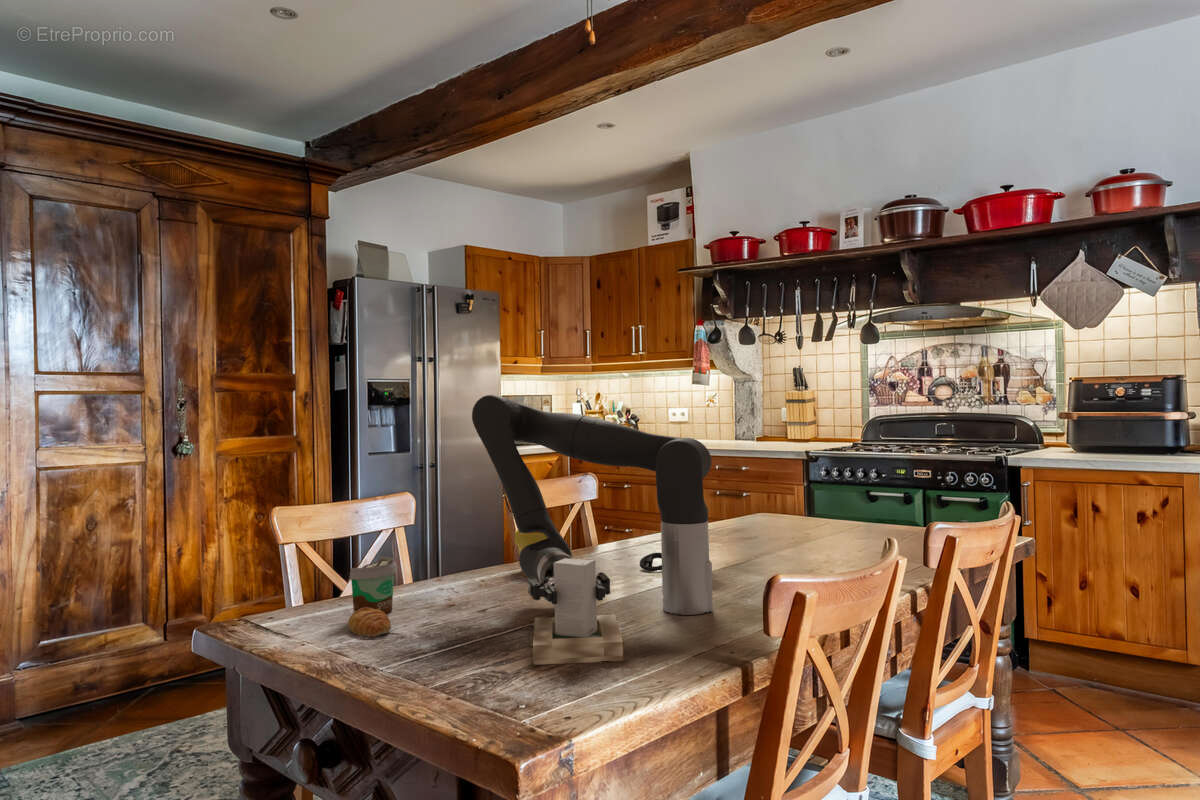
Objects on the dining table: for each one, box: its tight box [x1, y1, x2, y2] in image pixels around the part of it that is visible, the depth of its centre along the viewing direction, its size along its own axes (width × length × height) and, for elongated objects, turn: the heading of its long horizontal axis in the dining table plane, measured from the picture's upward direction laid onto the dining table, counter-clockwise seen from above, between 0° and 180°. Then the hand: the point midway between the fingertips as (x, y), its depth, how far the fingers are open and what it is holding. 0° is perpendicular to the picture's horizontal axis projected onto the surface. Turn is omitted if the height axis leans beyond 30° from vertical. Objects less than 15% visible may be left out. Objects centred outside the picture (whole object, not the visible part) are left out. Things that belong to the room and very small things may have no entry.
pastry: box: [347, 607, 392, 638], centre depth 142 cm, size 9×7×4 cm
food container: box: [349, 556, 398, 616], centre depth 154 cm, size 12×6×10 cm, turn 168°
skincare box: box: [553, 558, 598, 638], centre depth 130 cm, size 6×4×12 cm
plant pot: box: [514, 529, 547, 555], centre depth 192 cm, size 10×10×10 cm
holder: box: [532, 614, 624, 666], centre depth 129 cm, size 14×16×3 cm
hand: (578, 596), depth 127 cm, fingers closed on skincare box, 7 cm apart
